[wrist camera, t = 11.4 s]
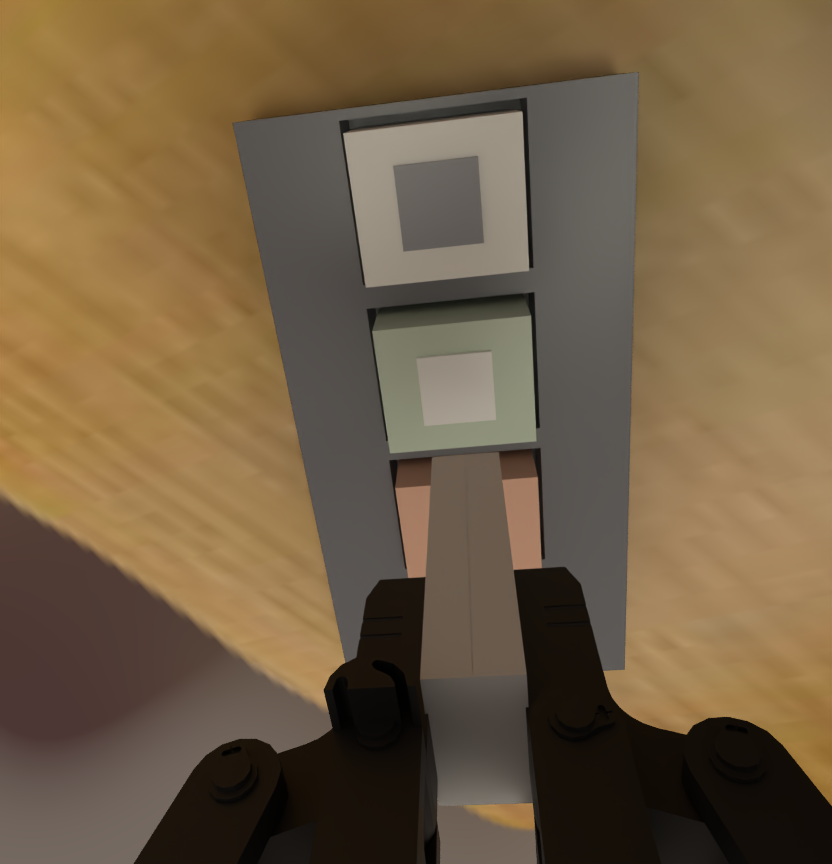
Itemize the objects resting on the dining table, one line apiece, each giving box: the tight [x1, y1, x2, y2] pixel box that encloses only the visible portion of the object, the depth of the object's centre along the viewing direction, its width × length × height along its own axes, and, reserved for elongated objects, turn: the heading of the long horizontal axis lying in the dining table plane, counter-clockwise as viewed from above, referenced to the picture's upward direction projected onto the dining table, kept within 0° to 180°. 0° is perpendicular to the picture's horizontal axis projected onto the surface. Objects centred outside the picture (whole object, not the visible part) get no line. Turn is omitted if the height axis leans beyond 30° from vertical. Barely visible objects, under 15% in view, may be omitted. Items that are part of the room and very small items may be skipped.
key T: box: [395, 449, 542, 578], centre depth 27 cm, size 4×5×4 cm
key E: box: [343, 108, 529, 288], centre depth 22 cm, size 4×5×4 cm
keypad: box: [233, 72, 639, 671], centre depth 27 cm, size 23×12×3 cm, turn 6°
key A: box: [372, 293, 536, 453], centre depth 24 cm, size 4×5×4 cm
